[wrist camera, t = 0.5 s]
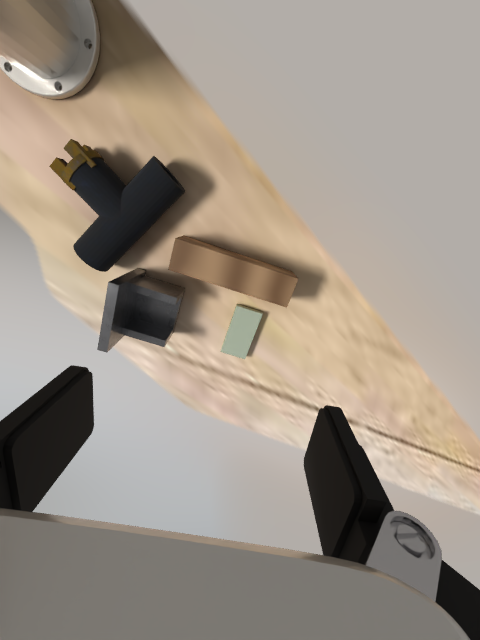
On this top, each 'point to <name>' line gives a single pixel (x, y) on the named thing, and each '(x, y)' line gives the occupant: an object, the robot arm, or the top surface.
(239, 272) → the walnut rail
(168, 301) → the grey metal bracket
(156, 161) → the pipe connector
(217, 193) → the top surface
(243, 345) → the pad
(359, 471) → the robot arm
